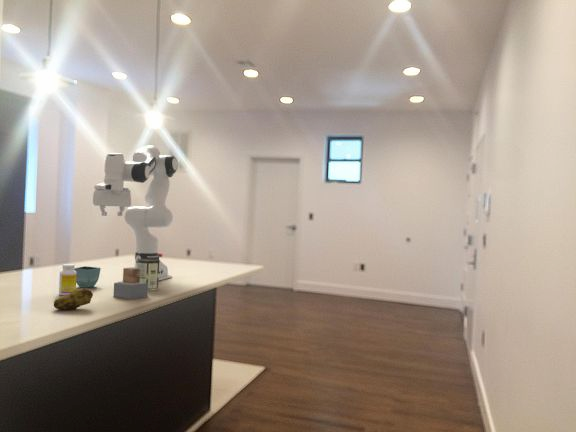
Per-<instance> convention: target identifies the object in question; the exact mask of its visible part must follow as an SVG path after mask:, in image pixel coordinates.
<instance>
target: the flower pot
mask: <svg viewBox="0 0 576 432" xmlns="http://www.w3.org/2000/svg"><path fill="white" fill-rule="evenodd" d="M101 269H102V268H101V267H98V266H96V267H95V266H80V267H74V270H75V271H76V273H77V275H76V286H78V287H79V288H86V289H88V288H91V287H94V286H95V285H96V284H97V283H98V281H99V278H100V273H101Z"/></svg>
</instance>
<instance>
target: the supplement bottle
mask: <svg viewBox="0 0 576 432" xmlns="http://www.w3.org/2000/svg"><path fill="white" fill-rule="evenodd" d="M74 268H76V267H75V264H73V263H66V264H65V263H64V264H62V270H60V272H59V286H58V294H59V296H65V295H68V294H70V293H71V292H73V291H74V290H77V283H76V275H77V273H76V271H75V270H74Z"/></svg>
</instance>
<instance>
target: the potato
mask: <svg viewBox="0 0 576 432" xmlns="http://www.w3.org/2000/svg"><path fill="white" fill-rule="evenodd" d="M93 294H94V293H93V291H92V290H90V289H88V288H87V287H80V288H76V290H74V291H73V292H71V293H70V294H68V295H61V296H60V297H58V298H56V299H55V300H54V302H53V307H54V309H56V310H60V311H61V310H63V311H64V310H67V311H68V310H75V309H78V308H80V307H82V306H86V305H88V304H91V301H92V298H93V296H94V295H93Z"/></svg>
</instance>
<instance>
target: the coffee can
mask: <svg viewBox="0 0 576 432" xmlns="http://www.w3.org/2000/svg"><path fill="white" fill-rule="evenodd" d="M137 261H138V264H137V268H140V282H145V283H148V292H149V291H150V292H152V291H157V290H159V280H158V279H159V262H160V261H161V259H159V260H158V259H138V260H137Z"/></svg>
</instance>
